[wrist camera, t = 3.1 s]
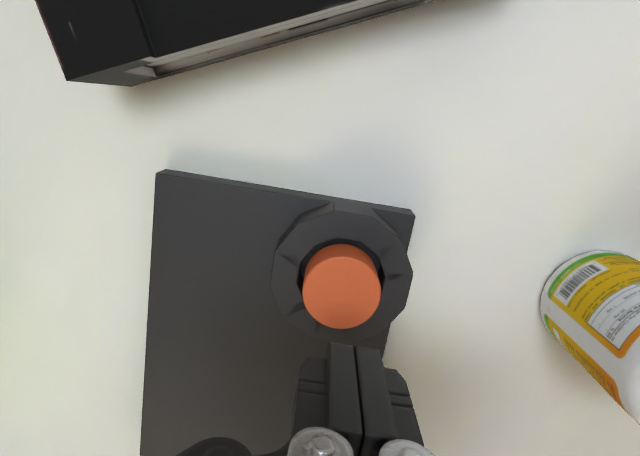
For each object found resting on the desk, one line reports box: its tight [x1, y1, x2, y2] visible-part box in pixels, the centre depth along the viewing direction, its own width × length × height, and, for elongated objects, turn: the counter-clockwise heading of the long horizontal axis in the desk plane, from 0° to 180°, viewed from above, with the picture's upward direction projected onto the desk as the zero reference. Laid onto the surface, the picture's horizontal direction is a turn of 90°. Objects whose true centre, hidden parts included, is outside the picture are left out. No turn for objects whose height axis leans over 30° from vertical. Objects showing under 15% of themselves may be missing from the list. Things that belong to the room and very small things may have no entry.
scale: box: [140, 169, 415, 456], centre depth 21 cm, size 16×12×3 cm
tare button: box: [302, 244, 381, 329], centre depth 18 cm, size 3×3×2 cm
